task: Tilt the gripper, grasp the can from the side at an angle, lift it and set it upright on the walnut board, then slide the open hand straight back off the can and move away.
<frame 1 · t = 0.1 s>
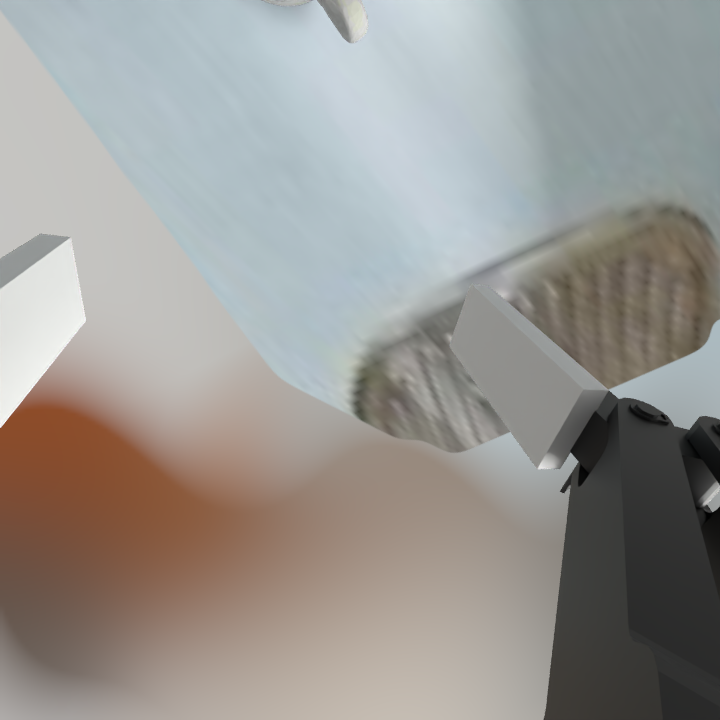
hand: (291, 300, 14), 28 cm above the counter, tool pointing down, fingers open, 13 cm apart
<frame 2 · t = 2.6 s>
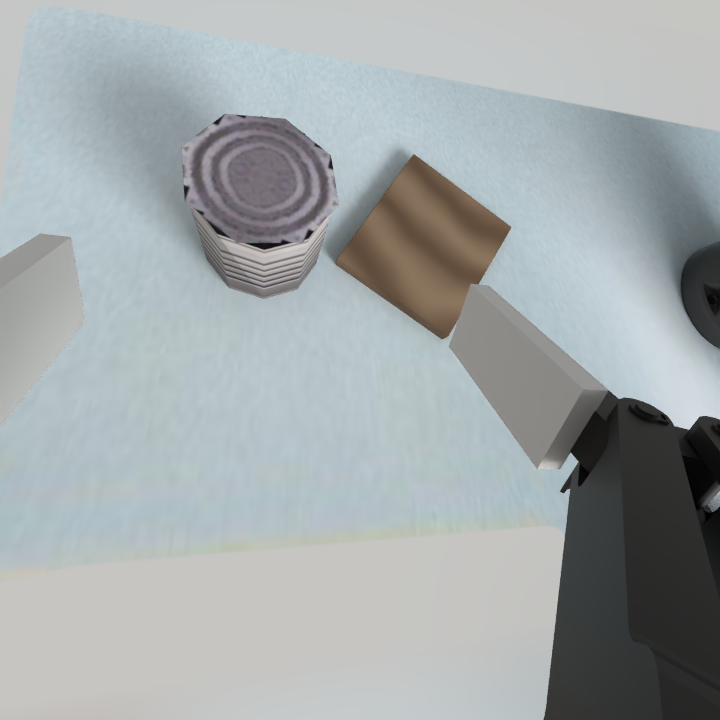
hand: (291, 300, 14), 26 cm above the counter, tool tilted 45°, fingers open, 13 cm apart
walnut board: (425, 247, 46), on the counter
can: (262, 247, 42), on the counter
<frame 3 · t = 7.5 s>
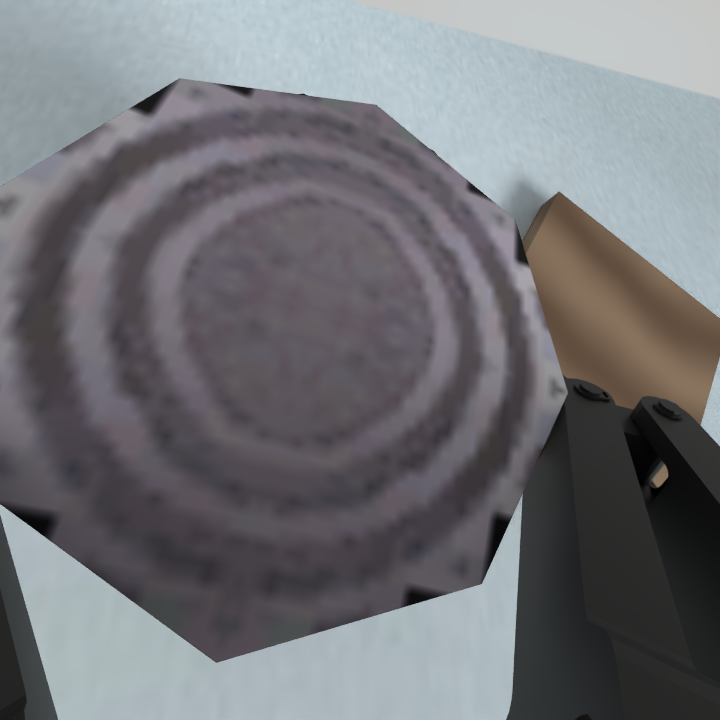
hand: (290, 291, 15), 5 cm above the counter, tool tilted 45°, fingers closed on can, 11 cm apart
walnut board: (584, 369, 24), on the counter
can: (276, 391, 19), on the counter, touching gripper
when the fingers open (7 cm above the counter, at t = 14.4 s): can moves 2 cm, point 2 cm above the counter.
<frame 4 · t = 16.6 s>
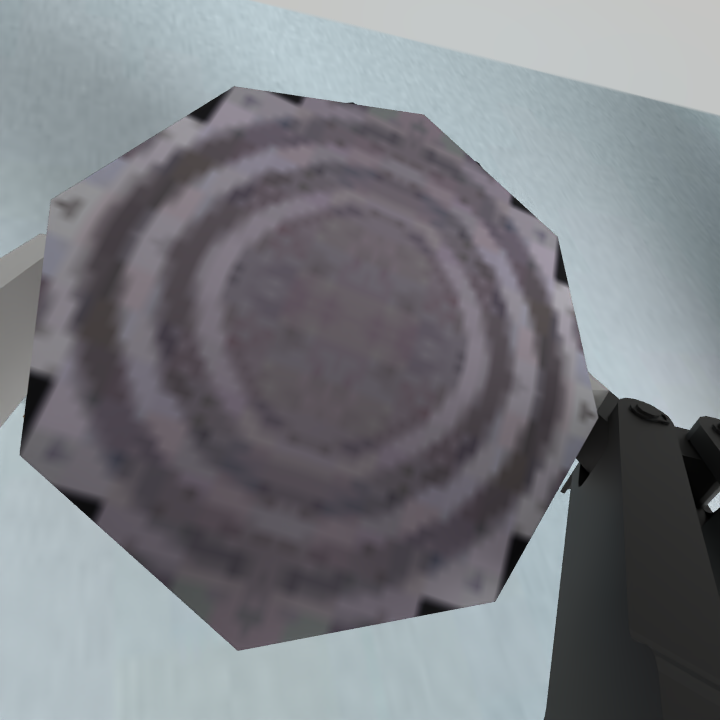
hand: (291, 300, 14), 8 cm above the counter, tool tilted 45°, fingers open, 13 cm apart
can: (304, 385, 20), point 2 cm above the counter, touching gripper
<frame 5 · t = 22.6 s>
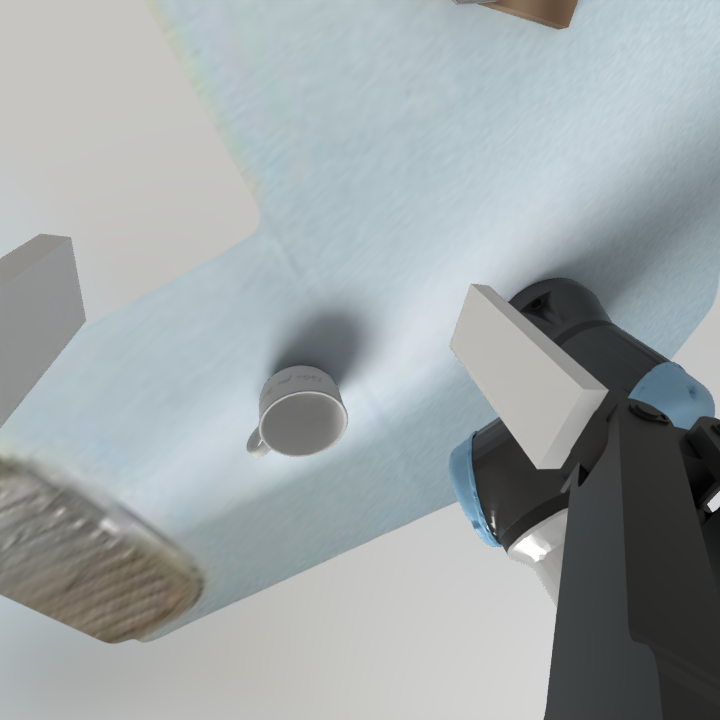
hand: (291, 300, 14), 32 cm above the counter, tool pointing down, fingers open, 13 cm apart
teacup: (289, 392, 56), on the counter
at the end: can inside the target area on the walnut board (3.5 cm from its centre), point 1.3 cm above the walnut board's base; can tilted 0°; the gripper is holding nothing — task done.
